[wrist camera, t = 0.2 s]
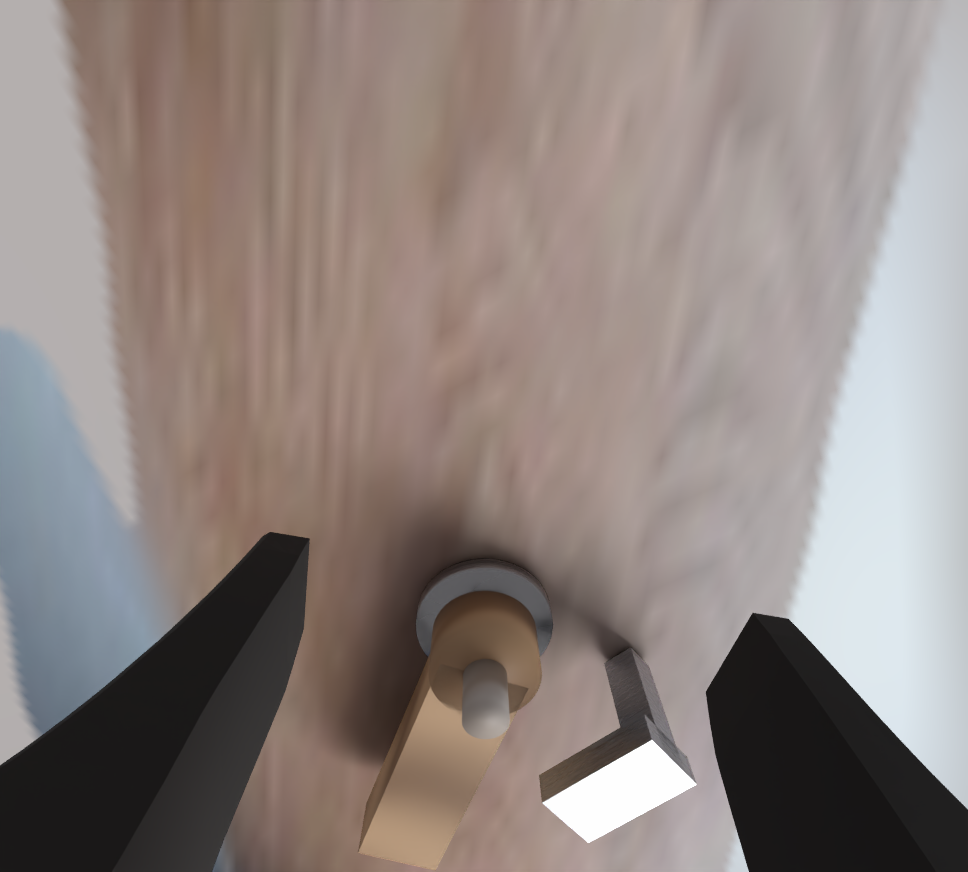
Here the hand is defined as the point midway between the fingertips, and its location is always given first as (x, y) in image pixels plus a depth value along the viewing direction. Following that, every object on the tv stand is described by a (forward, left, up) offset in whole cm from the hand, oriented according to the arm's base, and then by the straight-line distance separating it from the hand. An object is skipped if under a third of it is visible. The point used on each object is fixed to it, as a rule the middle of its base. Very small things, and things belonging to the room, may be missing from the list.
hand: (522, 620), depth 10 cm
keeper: (-4, -12, -10) cm, 16 cm away
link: (-8, -9, -9) cm, 15 cm away
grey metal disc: (-5, -6, -10) cm, 13 cm away
